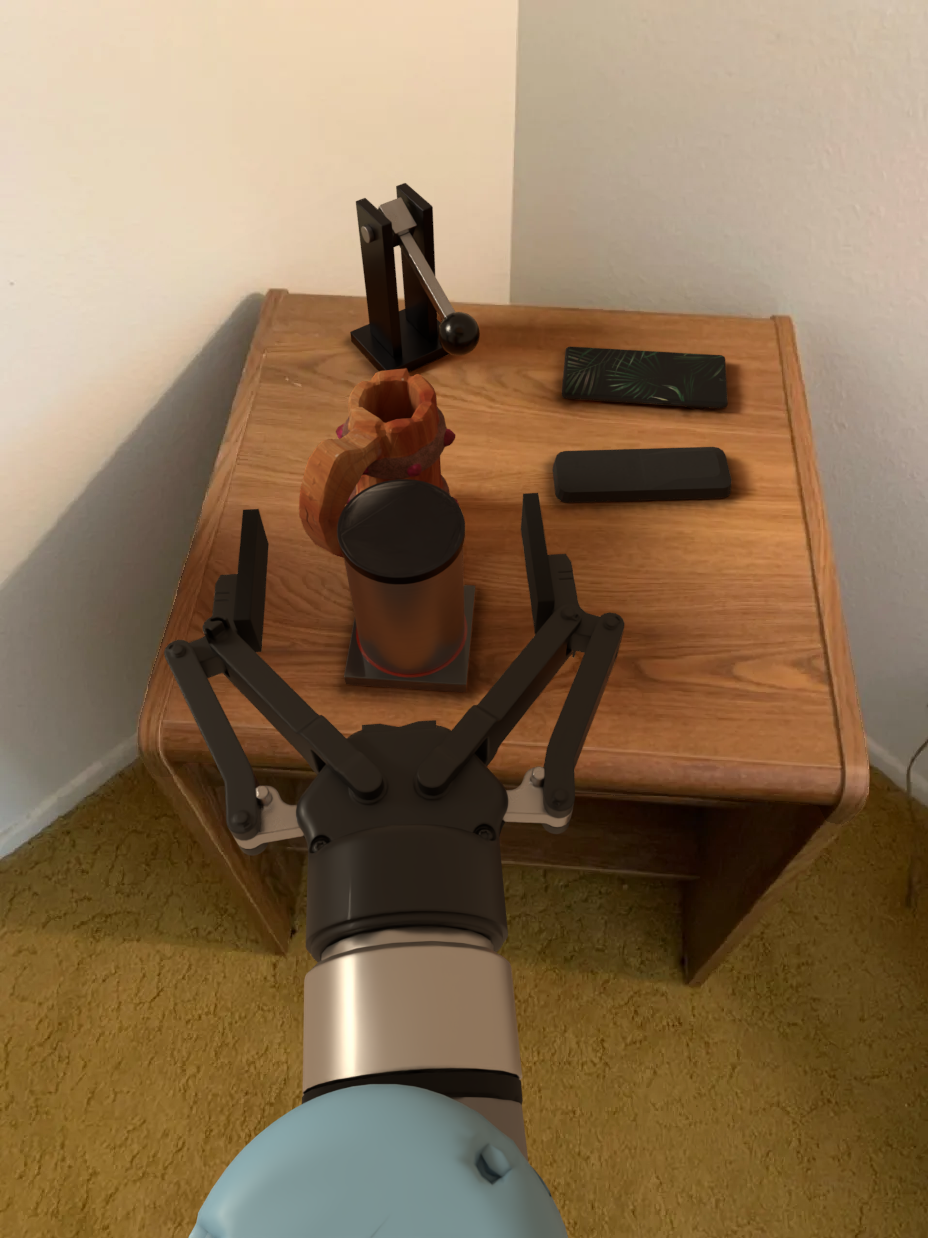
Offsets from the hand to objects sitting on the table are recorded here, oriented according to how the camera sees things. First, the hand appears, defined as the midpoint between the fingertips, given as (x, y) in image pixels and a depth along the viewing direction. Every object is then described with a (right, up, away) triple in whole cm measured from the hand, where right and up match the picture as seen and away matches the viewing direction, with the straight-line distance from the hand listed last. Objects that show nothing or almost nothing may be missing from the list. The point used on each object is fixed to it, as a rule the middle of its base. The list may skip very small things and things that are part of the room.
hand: (393, 518), depth 46 cm
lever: (0, +24, +35) cm, 42 cm away
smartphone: (+20, +17, +41) cm, 48 cm away
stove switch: (-2, +22, +44) cm, 49 cm away
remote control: (+19, +7, +34) cm, 39 cm away
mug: (-3, +1, +30) cm, 30 cm away
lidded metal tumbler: (0, -6, +24) cm, 24 cm away
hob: (0, -7, +25) cm, 25 cm away
